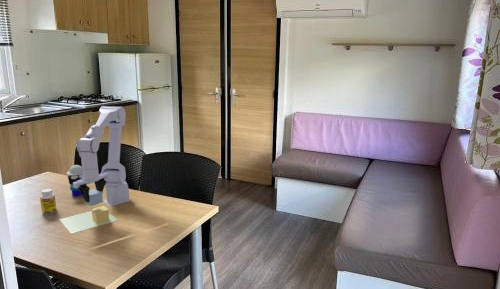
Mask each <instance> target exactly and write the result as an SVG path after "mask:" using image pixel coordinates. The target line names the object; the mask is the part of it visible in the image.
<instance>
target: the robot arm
mask: <svg viewBox="0 0 500 289" xmlns="http://www.w3.org/2000/svg"><path fill="white" fill-rule="evenodd" d="M98 115H99V116H98V119H97V121H96V123H95V125H94V124H93V125H91V126H90V127H89V129H88V131H87V132H86V133H85V135H84V136H83V137H81V138H79V139H78V140H77V142H76V150H77V152H78V154H79V155H78V156H79V158H80V159H81V160H80V161H81V167H82V170H83V178H82V179H80V180H78V181H76V182H73V187H74V188H78V189H79V190H80V192H81V193H82V197H83V201H84V200H85V202H89V191H90V189H91V187H90V186H88V185H89V184H92V183H94V186H95V189H96V190H98V191H101V192H102V194H103V192H104V188H105V194H106V199H104V200H103V203H105V204H106V205H108V206H110V207H112V206H116V205H119V204H120V205H121V204H124V203H128V202H131V200H130V192H129V191H130V190H129V184H128V183H127V181H126V178H127V175H126V174H127V173H126V167H125V166H124V165H123V164H121V163H120V158H121V144H122V143H121V142H122V129H123V126H126V125H125V124H126V115H127V114H126V110H125V108H124V107H123V106H104V105H102V106H101V107H100V108H99V110H98ZM107 126H108V127H109V140H108V155H107V156H108V157H107V163H105V164H104V165H103V166H102V167H101V172H100V173H99V165H98V155H97V154H98V151H99V149H100V143H101V142H100V141H101V139H102V138H103V136H104V134H105V132H104V129H105V128H106V127H107Z"/></svg>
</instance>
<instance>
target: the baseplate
mask: <svg viewBox="0 0 500 289" xmlns="http://www.w3.org/2000/svg"><path fill="white" fill-rule="evenodd" d="M59 221H60V222H61V224H62V225H63V226H64V227H65V228H66V230H67V231H68V232H69V233H70V234H75V233H78V232H81V231H85V230H89V229H93V228H96V227H99V226H104V225H107V224H109V223H114V222H117V221H118V219H117V218H116V217H115V216H113V215H112V214H111V213H110V212H109V220H107V221H103V222H100V223H96V222H95V221H94V220H93V218H92V210H90V211H87V212H82V213H78V214H75V215H71V216H67V217H63V218H59Z"/></svg>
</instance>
